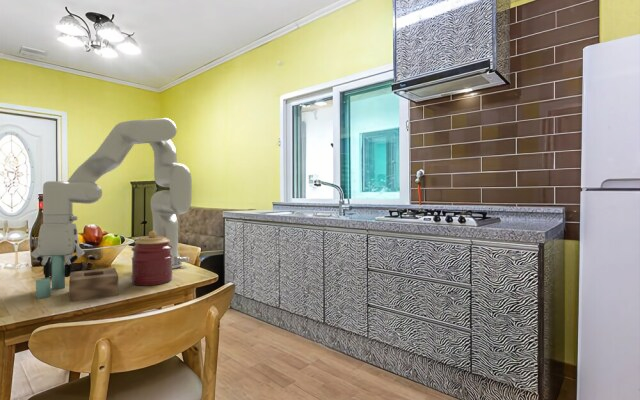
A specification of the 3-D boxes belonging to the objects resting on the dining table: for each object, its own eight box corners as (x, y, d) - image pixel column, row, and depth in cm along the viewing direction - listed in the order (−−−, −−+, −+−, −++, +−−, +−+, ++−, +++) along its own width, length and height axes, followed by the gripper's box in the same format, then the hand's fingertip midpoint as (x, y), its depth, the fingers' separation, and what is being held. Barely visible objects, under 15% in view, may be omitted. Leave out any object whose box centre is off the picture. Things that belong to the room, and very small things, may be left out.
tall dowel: (67, 286, 114) (66, 252, 114) (61, 289, 111) (61, 254, 111) (55, 286, 114) (54, 253, 113) (49, 289, 110) (49, 255, 110)
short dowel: (52, 294, 106) (52, 278, 105) (46, 297, 102) (46, 280, 102) (39, 295, 105) (39, 278, 105) (33, 298, 101) (33, 281, 101)
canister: (178, 276, 129) (178, 229, 128) (161, 286, 116) (162, 233, 115) (143, 276, 129) (144, 228, 129) (123, 285, 116) (123, 232, 116)
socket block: (114, 285, 116) (114, 267, 116) (118, 295, 106) (118, 275, 106) (70, 291, 109) (70, 272, 109) (69, 301, 99) (69, 280, 99)
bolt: (91, 273, 139) (55, 281, 124) (83, 266, 140) (46, 273, 125) (98, 261, 138) (62, 268, 124) (89, 254, 139) (53, 260, 125)
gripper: (92, 218, 117) (92, 272, 118) (33, 219, 113) (34, 274, 114) (83, 220, 110) (83, 278, 110) (19, 221, 106) (20, 280, 107)
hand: (58, 275), depth 112 cm, fingers open, 4 cm apart
